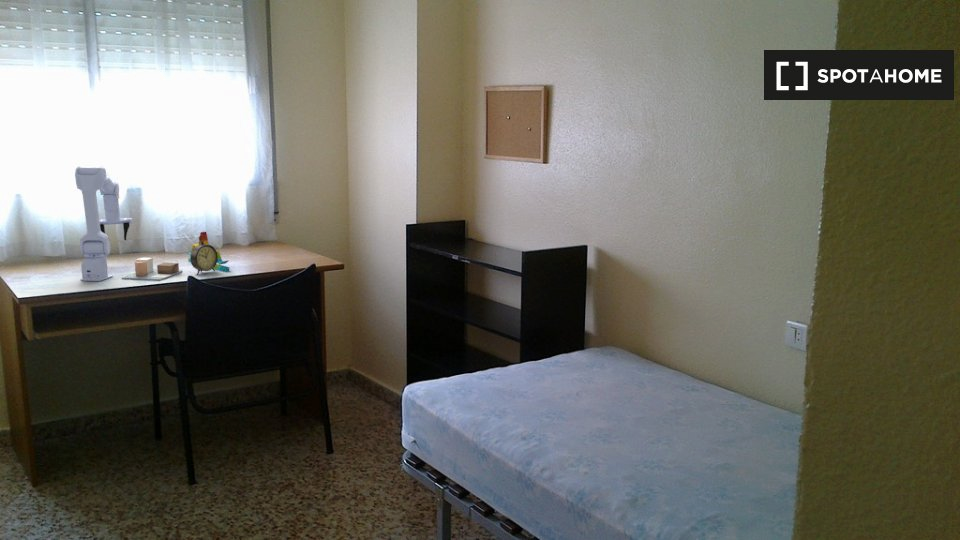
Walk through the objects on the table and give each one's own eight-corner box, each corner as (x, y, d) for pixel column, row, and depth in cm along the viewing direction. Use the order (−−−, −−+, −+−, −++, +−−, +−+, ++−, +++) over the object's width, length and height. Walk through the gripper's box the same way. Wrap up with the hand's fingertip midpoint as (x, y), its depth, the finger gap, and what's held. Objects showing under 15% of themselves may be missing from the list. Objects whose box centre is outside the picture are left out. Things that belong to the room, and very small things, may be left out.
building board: (160, 280, 308) (160, 279, 308) (121, 278, 310) (121, 277, 310) (183, 271, 326) (183, 270, 325) (146, 270, 328) (146, 268, 327)
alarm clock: (197, 275, 318) (195, 236, 315) (188, 274, 321) (186, 235, 318) (219, 271, 328) (217, 233, 324) (210, 270, 330) (208, 232, 327)
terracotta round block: (143, 276, 312) (142, 263, 311) (133, 276, 312) (132, 262, 311) (149, 274, 316) (148, 261, 315) (139, 274, 317) (138, 260, 315)
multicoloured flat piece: (230, 271, 330) (228, 236, 327) (223, 272, 327) (221, 237, 324) (195, 261, 350) (193, 228, 347) (188, 262, 348) (186, 229, 345)
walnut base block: (171, 274, 318) (171, 265, 317) (157, 273, 318) (157, 265, 318) (178, 271, 324) (178, 263, 323) (165, 270, 324) (164, 262, 324)
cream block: (147, 273, 319) (146, 260, 318) (137, 272, 319) (136, 259, 318) (153, 271, 323) (152, 258, 322) (143, 270, 324) (142, 257, 323)
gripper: (130, 206, 338) (133, 236, 342) (93, 208, 332) (96, 239, 336) (130, 210, 332) (134, 240, 336) (92, 212, 326) (96, 243, 330)
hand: (115, 240), depth 336 cm, fingers open, 7 cm apart
